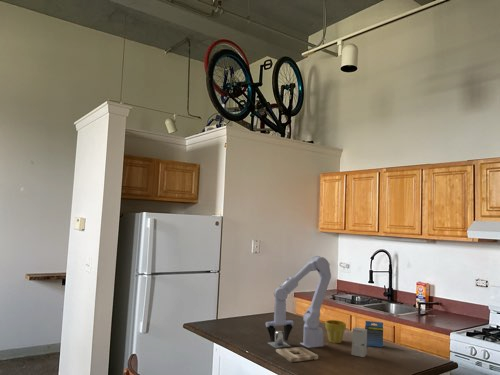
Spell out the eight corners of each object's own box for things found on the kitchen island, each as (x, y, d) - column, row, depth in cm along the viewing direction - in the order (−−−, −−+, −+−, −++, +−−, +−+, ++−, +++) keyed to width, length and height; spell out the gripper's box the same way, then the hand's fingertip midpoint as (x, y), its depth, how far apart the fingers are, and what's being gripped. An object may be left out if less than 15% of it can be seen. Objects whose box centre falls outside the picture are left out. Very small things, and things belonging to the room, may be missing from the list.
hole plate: (301, 349, 199) (301, 346, 199) (318, 358, 186) (318, 355, 187) (275, 352, 194) (275, 349, 194) (290, 362, 181) (290, 358, 181)
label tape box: (382, 345, 212) (383, 320, 214) (383, 347, 209) (383, 322, 210) (364, 343, 215) (365, 319, 216) (364, 345, 211) (365, 320, 212)
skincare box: (351, 355, 194) (351, 328, 195) (353, 352, 198) (354, 326, 199) (364, 357, 191) (364, 330, 192) (367, 355, 195) (367, 328, 196)
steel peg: (280, 342, 208) (281, 330, 209) (284, 345, 205) (284, 332, 205) (273, 343, 207) (273, 331, 207) (277, 345, 203) (277, 333, 203)
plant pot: (345, 345, 210) (346, 325, 211) (324, 343, 213) (325, 323, 213) (345, 339, 221) (345, 320, 221) (325, 338, 223) (325, 319, 224)
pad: (282, 342, 211) (282, 341, 211) (291, 347, 203) (291, 346, 203) (266, 343, 208) (266, 342, 208) (275, 348, 200) (275, 347, 200)
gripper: (288, 310, 214) (288, 337, 212) (263, 311, 208) (262, 339, 206) (295, 313, 207) (295, 341, 206) (269, 314, 201) (268, 343, 200)
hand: (279, 340), depth 206 cm, fingers open, 7 cm apart
